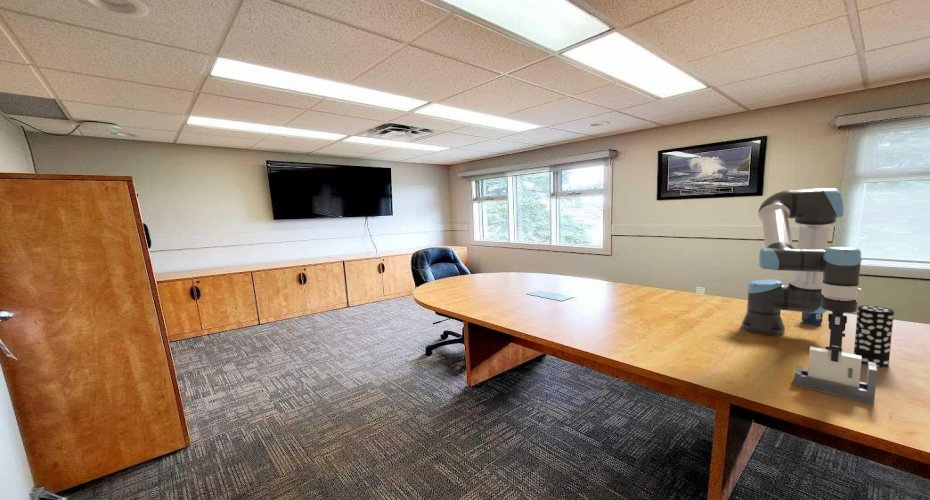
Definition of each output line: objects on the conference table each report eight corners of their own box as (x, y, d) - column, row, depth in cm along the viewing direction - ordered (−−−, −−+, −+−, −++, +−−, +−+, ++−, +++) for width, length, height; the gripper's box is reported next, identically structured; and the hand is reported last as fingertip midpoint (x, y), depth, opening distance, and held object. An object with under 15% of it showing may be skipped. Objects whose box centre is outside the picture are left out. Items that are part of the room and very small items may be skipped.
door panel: (807, 384, 111) (809, 349, 110) (807, 380, 114) (810, 346, 112) (858, 397, 103) (861, 359, 102) (858, 392, 106) (861, 355, 104)
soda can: (797, 320, 167) (798, 297, 165) (813, 320, 166) (815, 296, 164) (809, 325, 160) (811, 301, 158) (826, 325, 159) (828, 300, 157)
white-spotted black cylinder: (893, 369, 119) (899, 313, 116) (858, 364, 123) (863, 310, 121) (881, 359, 126) (886, 306, 123) (849, 355, 130) (853, 304, 128)
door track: (793, 385, 113) (795, 354, 111) (795, 377, 117) (797, 348, 116) (873, 405, 100) (877, 371, 99) (872, 395, 105) (875, 362, 103)
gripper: (858, 309, 94) (852, 381, 96) (856, 290, 110) (851, 353, 113) (819, 304, 99) (814, 373, 102) (823, 287, 116) (819, 347, 119)
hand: (834, 362), depth 108 cm, fingers open, 13 cm apart
